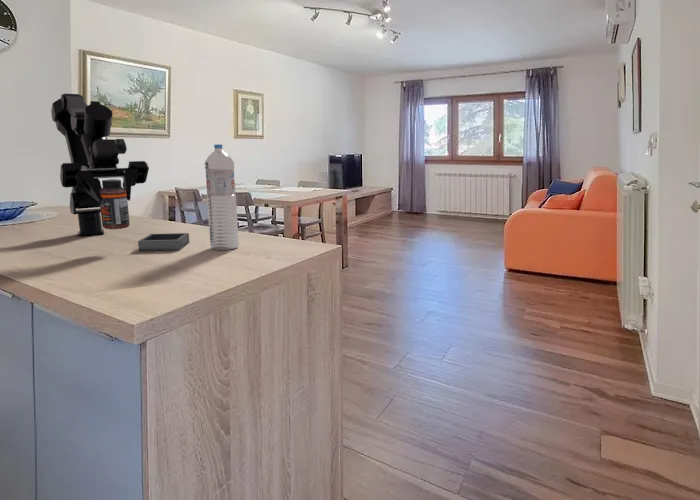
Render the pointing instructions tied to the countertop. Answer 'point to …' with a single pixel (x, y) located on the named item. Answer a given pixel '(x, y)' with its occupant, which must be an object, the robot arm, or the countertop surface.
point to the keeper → (164, 242)
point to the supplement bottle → (114, 205)
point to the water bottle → (221, 200)
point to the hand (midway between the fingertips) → (115, 200)
